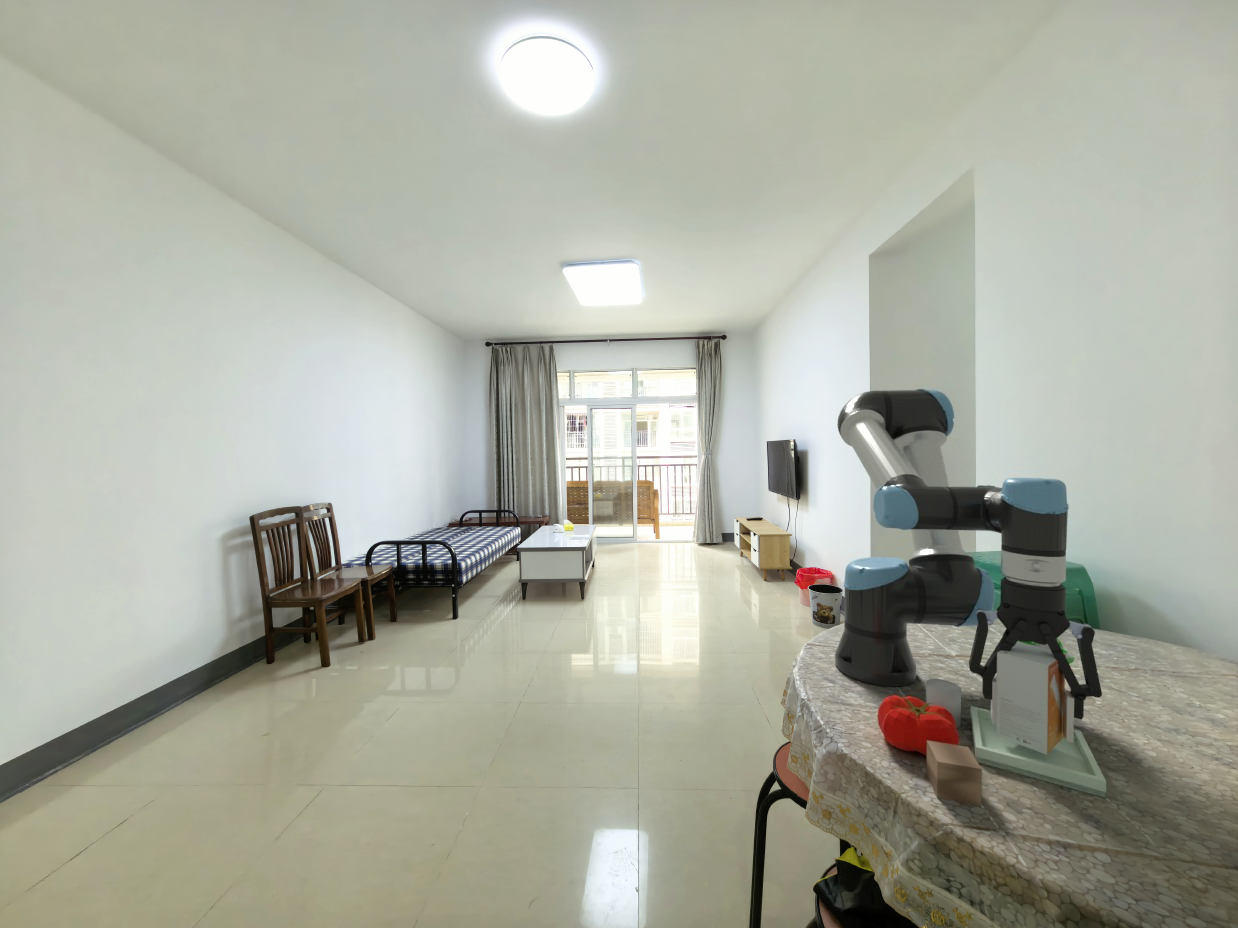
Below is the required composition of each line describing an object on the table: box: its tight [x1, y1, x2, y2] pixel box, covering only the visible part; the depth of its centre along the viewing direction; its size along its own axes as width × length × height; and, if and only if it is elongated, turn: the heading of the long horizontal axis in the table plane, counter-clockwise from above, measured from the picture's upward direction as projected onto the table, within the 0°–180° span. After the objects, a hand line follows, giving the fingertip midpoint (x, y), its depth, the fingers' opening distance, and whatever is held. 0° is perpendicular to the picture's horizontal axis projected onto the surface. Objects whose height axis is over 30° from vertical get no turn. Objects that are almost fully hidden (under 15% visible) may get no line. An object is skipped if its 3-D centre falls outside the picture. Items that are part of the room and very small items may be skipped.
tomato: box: [877, 694, 960, 757], centre depth 76 cm, size 10×11×6 cm
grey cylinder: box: [925, 678, 962, 729], centre depth 84 cm, size 5×5×6 cm
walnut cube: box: [925, 740, 983, 807], centre depth 67 cm, size 5×5×5 cm
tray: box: [970, 705, 1107, 799], centre depth 75 cm, size 14×14×2 cm
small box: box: [996, 641, 1066, 755], centre depth 74 cm, size 8×6×13 cm
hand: (1029, 728), depth 74 cm, fingers closed on small box, 8 cm apart
